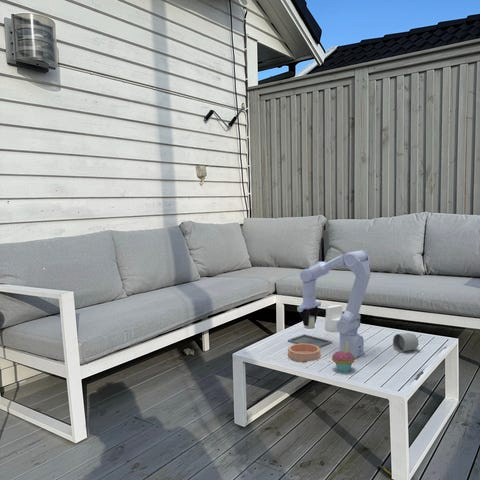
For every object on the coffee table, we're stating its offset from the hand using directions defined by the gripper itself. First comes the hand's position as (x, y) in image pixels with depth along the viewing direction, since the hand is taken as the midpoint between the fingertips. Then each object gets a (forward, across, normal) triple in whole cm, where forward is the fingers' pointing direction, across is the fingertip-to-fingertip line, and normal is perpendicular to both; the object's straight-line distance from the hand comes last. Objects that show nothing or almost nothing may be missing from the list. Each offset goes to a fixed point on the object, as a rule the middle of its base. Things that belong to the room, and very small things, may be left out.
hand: (309, 324), depth 204 cm
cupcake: (+9, +16, +29) cm, 34 cm away
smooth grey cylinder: (+1, 0, 0) cm, 1 cm away
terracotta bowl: (+9, +15, +9) cm, 19 cm away
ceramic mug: (+9, -22, +34) cm, 41 cm away
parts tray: (+9, 0, 0) cm, 9 cm away
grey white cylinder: (+9, -26, -5) cm, 28 cm away
